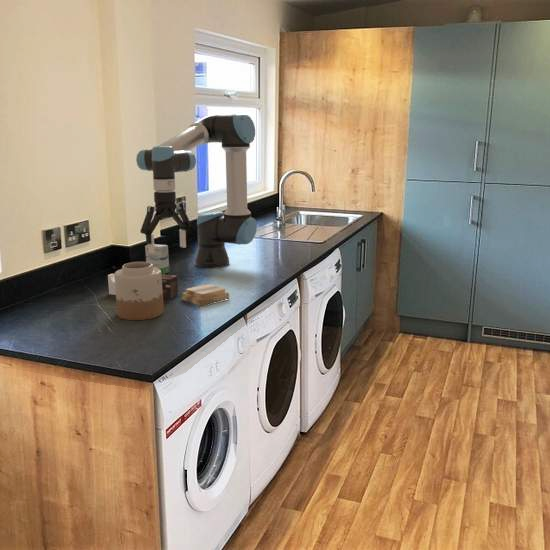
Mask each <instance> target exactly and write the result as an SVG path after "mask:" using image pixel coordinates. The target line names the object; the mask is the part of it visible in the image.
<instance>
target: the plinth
mask: <svg viewBox="0 0 550 550" xmlns="http://www.w3.org/2000/svg"><path fill="white" fill-rule="evenodd" d="M225 299H229V300H230V292H227V291H226V288H223V287H221V286H217V285H213V284H212V283H211V284H210V283H204V284H199V285H197V286H192V287H187V288H185V291H184V292H181V300H182V301H185V302H188V303H190V304H194V305H196V304H197V306H199V305H200V306H199V307H202V306H203V307H205V306H204V305H207V306H209V305H208V304H211V303H214V302H218V301H221V300H225ZM218 303H219V302H218ZM214 304H215V303H214ZM211 305H212V304H211Z"/></svg>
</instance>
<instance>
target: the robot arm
mask: <svg viewBox="0 0 550 550" xmlns="http://www.w3.org/2000/svg"><path fill="white" fill-rule="evenodd" d="M255 137H256V127H255V123H254V120H253V119H252V118H251V117H250V115H248V114H247V113H239V112H237V113H213V114H210V115H208V116H205V117H202V118H201V119H199V120H195V122H192V123H191V124H190V125H189V128H188V129H185V130H184V131H181V133H178V134H176V135H175V136H173V137H171V138H170V139H167V140H166V141H164V142H162V143H161V144H159V145H157V146H153V147H152V148H151V149H141V150H139V151H138V152H137V154H136V166H138V168H139V169H140V170H142V171H148V172H152V180H153V191H154V192H153V199H154V200H153V201H154V204H155V205H154V206H151V205H148V206H147V207H146V214H145V218H144V220H143V223H142V225H141V228H140V233H141V234H142V235H143V234H144V235H145V242H146V245H148V250H149V253H155V250H154V244H155V238H154V237H155V236H154V234H153V233H154V231H155V229H156V227H157V226H158V224H159V223H160V221H161V220H162V219H165V218H172V220H174V221H175V223H176V224H177V225H178V226H179V228H180V229H179V230H178V232H179V247H180V248H183V249H184V248H187V240H186V239H187V238H188V231H189V228H191V227H192V223H191V221H190V219H189V216H188V215H187V213H186V211H185V208H184V203H183V202H176V201H177V195H176V191H175V190H176V178H175V177H176V176H175V173H185V172H190V171H192V170H194V168H195V167H196V164H197V158H196V155H195V154H194V153H193V152H192V151H191V150H193V149H194V148H196V147H198V146H205V145H206V144H211V143H221V149H223V151H224V152H225V177H226V179H225V180H226V181H225V182H226V210H225V211H224V212H223V211H212V212H204V213H200V214H199V215H198V216H197V220H196V221H197V222H196V227H197V243H198V244H197V245H198V247H197V250H196V251H197V252H196V255H195V259H194V265H195V266H196V267H198V268H204V269H218V268H224V267H227V266H228V265H230V258H229V255H228V253H227V248H226V245H225V244H232V245H233V244H235V245H249V244H250V243H252V242H253V240H254V238H255V236H256V234H257V227H258V225H257V224H258V223H257V221H256V219H255V218H254V217H252V213H251V211H250V209H248V181H247V180H248V179H247V178H248V172H247V171H248V170H247V168H248V167H247V151H248V150H249V149H250V148H251V145H250V144H251V143H253V141H255ZM176 210H177V212H178V213H177V212H176Z"/></svg>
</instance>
